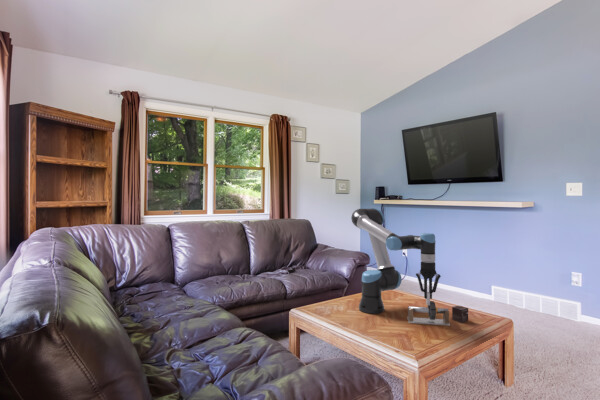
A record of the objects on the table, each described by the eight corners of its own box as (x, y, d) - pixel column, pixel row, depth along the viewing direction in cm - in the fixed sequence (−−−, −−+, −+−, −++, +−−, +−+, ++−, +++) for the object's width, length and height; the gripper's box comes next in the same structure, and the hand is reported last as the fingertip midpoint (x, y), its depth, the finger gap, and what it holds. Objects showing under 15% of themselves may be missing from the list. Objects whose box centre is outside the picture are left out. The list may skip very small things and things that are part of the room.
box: (461, 323, 180) (461, 309, 180) (451, 319, 186) (451, 306, 186) (468, 321, 183) (468, 308, 183) (458, 318, 188) (459, 305, 189)
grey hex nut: (431, 321, 177) (431, 304, 177) (427, 315, 186) (427, 299, 186) (436, 321, 177) (436, 304, 177) (432, 316, 186) (432, 299, 186)
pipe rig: (409, 322, 180) (409, 308, 180) (407, 318, 187) (407, 304, 187) (450, 325, 176) (450, 310, 177) (446, 321, 183) (446, 306, 183)
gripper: (416, 262, 180) (416, 305, 179) (442, 263, 177) (442, 307, 177) (414, 259, 187) (414, 301, 187) (439, 260, 185) (439, 303, 184)
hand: (428, 304), depth 182 cm, fingers closed
